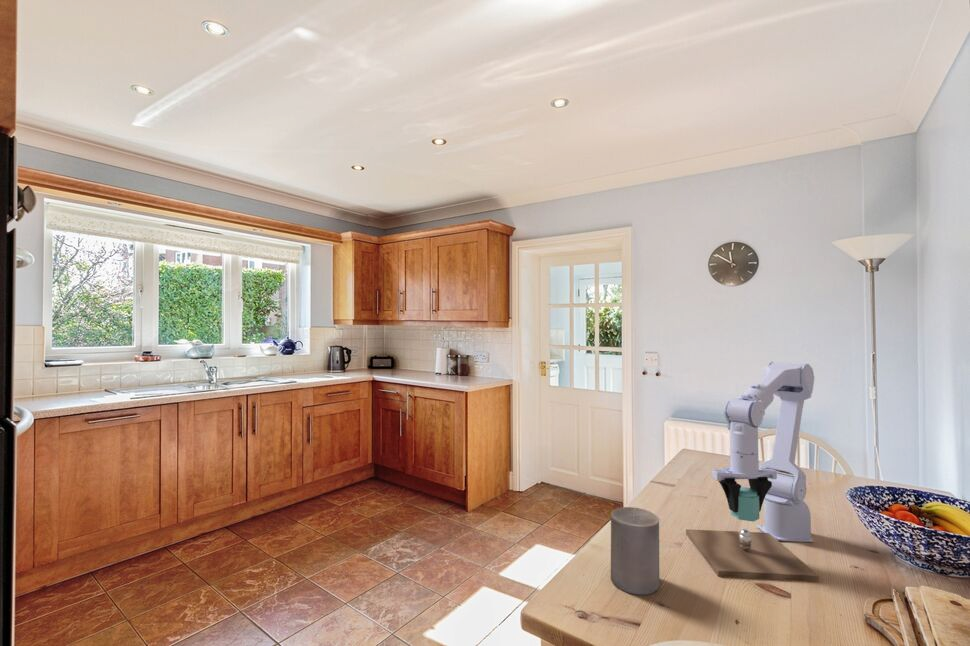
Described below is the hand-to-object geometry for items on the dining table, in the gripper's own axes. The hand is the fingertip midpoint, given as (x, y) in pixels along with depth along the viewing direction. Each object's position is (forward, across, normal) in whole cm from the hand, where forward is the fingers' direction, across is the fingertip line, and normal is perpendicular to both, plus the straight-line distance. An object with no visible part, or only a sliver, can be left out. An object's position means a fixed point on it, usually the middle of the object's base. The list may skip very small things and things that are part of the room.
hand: (744, 510), depth 105 cm
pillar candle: (+11, +30, +9) cm, 33 cm away
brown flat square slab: (+10, 0, 0) cm, 10 cm away
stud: (+9, 0, 0) cm, 9 cm away
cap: (+1, 0, 0) cm, 1 cm away
